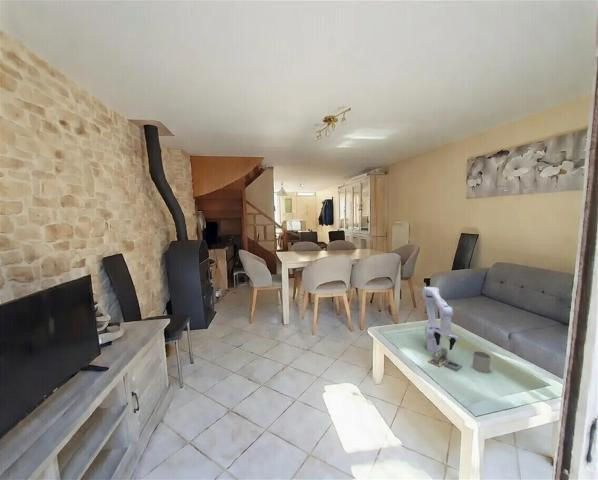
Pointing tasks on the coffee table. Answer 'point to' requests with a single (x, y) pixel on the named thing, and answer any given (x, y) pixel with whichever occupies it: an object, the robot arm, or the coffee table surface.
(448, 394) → the coffee table surface
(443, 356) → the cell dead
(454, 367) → the cradle
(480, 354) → the cup
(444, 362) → the tray
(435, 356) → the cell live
